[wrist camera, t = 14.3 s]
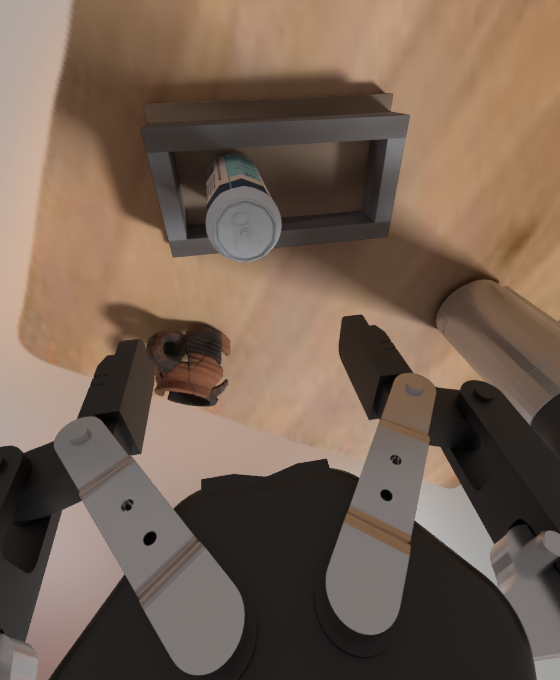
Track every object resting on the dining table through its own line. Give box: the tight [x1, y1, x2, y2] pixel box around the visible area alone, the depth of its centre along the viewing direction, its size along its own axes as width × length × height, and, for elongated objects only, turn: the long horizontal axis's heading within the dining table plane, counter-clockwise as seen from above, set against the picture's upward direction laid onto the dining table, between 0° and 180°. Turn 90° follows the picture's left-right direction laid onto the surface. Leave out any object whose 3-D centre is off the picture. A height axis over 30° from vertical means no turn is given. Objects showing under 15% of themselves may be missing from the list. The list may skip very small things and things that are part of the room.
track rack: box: [141, 93, 410, 257], centre depth 29 cm, size 12×20×5 cm, turn 92°
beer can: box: [206, 152, 282, 263], centre depth 24 cm, size 5×5×12 cm
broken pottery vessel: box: [146, 325, 230, 406], centre depth 39 cm, size 12×9×8 cm
